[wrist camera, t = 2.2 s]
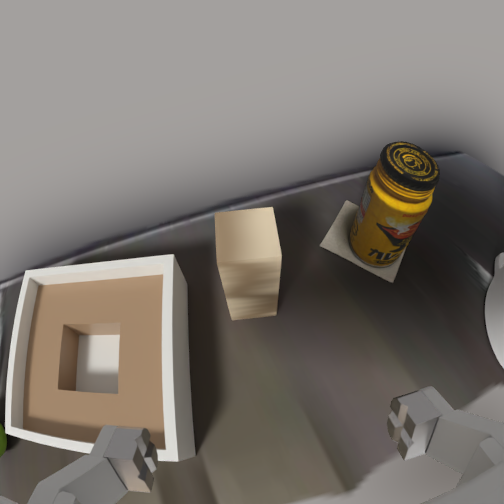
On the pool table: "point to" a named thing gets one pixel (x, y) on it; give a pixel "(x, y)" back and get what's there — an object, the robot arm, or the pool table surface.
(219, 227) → the beech peg
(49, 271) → the open box
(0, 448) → the snail figurine
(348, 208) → the condiment
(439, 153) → the pool table surface
